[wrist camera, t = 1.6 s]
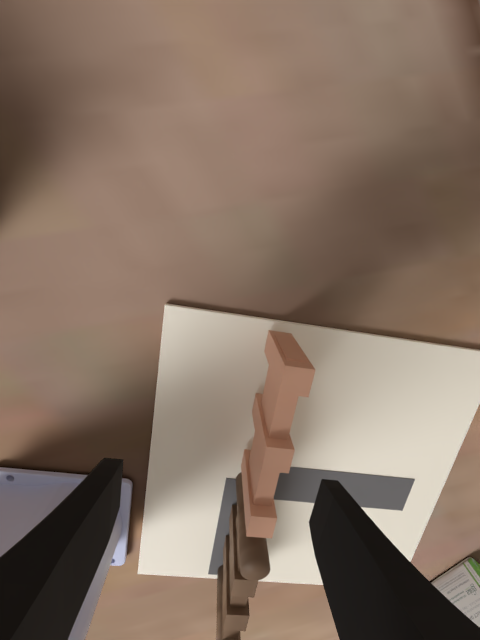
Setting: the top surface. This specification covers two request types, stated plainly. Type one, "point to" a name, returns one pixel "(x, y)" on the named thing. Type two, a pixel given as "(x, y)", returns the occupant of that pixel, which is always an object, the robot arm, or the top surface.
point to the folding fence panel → (273, 430)
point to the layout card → (297, 436)
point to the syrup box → (462, 588)
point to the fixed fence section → (238, 572)
